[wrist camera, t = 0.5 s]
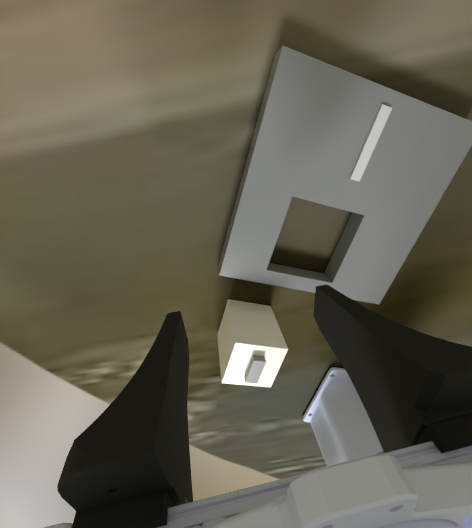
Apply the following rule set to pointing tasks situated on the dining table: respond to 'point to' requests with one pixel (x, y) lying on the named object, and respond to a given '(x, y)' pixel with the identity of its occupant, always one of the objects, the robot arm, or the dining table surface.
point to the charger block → (250, 344)
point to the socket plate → (341, 175)
